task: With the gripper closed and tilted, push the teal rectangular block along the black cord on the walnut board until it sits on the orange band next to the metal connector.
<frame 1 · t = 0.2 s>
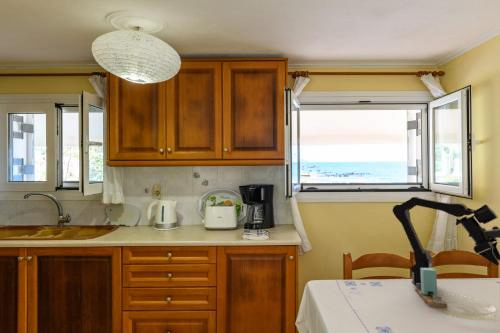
hand: (499, 262, 138), 15 cm above the table, tool tilted 35°, fingers open, 9 cm apart
cord board: (429, 298, 138), on the table
teal rectangular block: (428, 281, 139), point 7 cm above the table, slide at 0.0 cm
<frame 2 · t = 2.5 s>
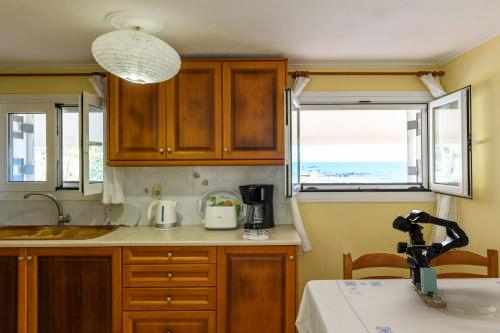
hand: (423, 264, 145), 13 cm above the table, tool tilted 45°, fingers open, 4 cm apart
nothing on the table moved.
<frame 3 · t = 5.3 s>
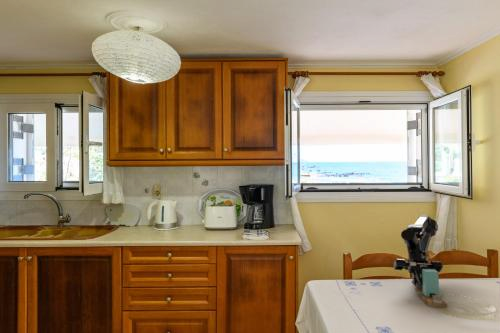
hand: (421, 284, 140), 5 cm above the table, tool tilted 40°, fingers closed
teal rectangular block: (430, 282, 137), point 7 cm above the table, slide at 2.3 cm, touching gripper
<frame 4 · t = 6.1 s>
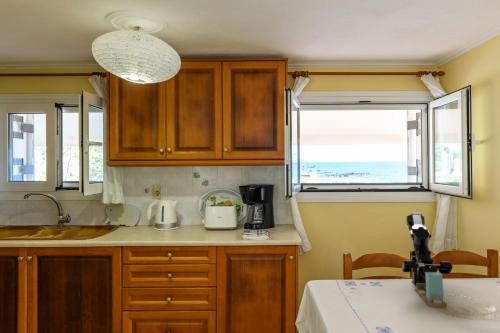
hand: (431, 285, 135), 7 cm above the table, tool tilted 45°, fingers closed, pressing on teal rectangular block
teal rectangular block: (434, 286, 133), point 7 cm above the table, slide at 7.0 cm, touching gripper
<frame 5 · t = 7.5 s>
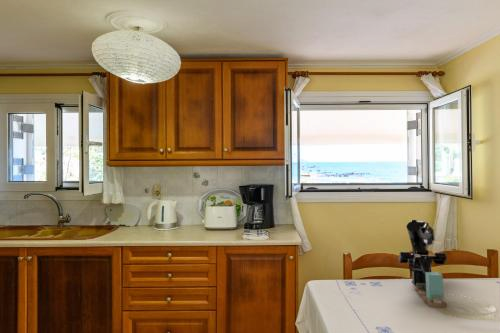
hand: (427, 275, 141), 9 cm above the table, tool tilted 45°, fingers closed
teal rectangular block: (434, 286, 132), point 7 cm above the table, slide at 7.0 cm
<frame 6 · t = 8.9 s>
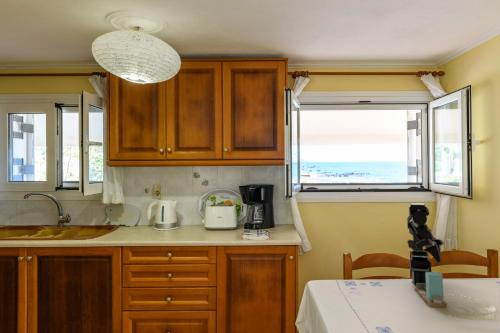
hand: (440, 262, 145), 13 cm above the table, tool tilted 30°, fingers closed
nothing on the table moved.
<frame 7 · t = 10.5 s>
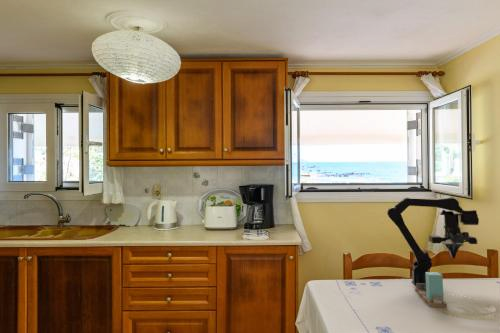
hand: (453, 258, 154), 13 cm above the table, tool pointing down, fingers closed
nothing on the table moved.
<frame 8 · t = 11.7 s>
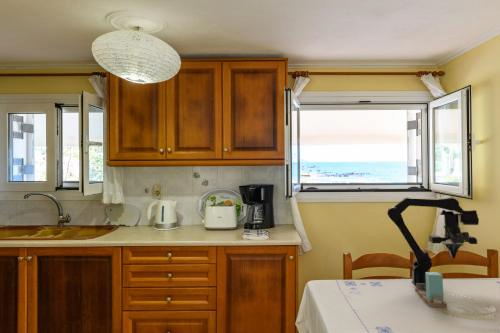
hand: (453, 258, 154), 13 cm above the table, tool pointing down, fingers closed
nothing on the table moved.
at the end: teal rectangular block slide at 7.0 cm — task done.
